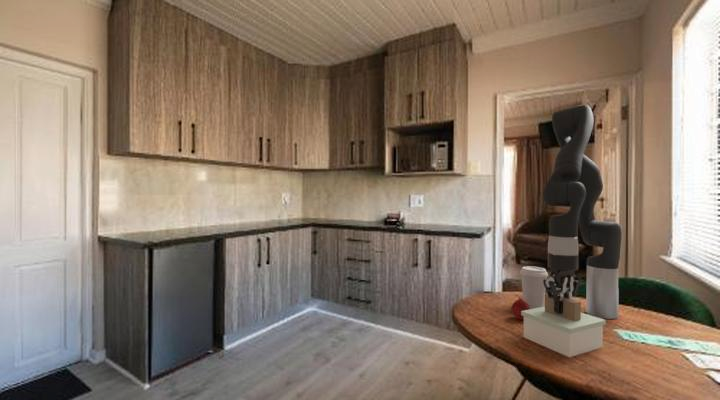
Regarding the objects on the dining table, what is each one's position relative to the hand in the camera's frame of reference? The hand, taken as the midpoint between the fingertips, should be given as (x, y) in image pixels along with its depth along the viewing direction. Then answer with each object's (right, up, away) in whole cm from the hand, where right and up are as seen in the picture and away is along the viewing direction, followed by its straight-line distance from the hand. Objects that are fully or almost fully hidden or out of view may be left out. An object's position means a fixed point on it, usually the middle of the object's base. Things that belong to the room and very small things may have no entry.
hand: (562, 312), depth 99 cm
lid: (0, -2, 0) cm, 2 cm away
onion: (-3, -9, +19) cm, 21 cm away
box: (0, -9, 0) cm, 9 cm away
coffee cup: (+7, -9, +31) cm, 33 cm away
